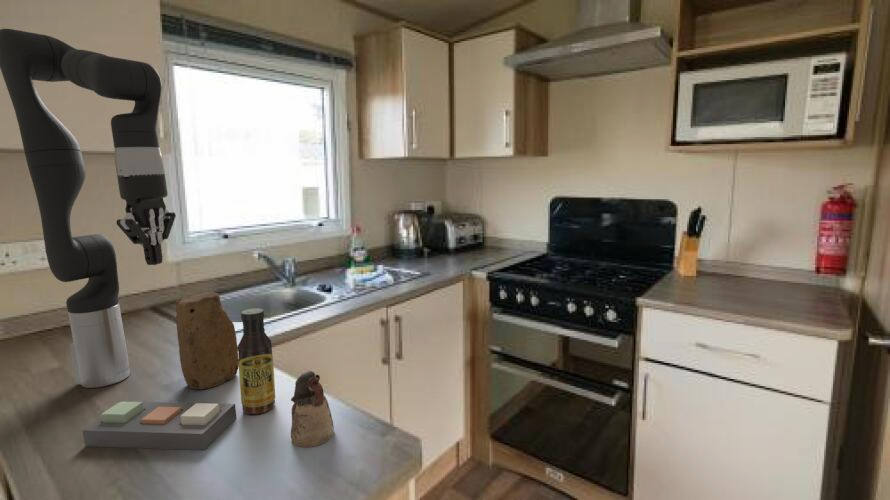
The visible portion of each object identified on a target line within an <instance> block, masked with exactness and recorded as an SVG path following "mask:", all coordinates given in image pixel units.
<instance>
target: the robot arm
mask: <svg viewBox="0 0 890 500" xmlns="http://www.w3.org/2000/svg"><path fill="white" fill-rule="evenodd" d="M0 71H1V74H2V77H3V80H4V83H5V86H6V90H7V92H8V95H9V97H10V100H11V104H12V106H13V109H14V112H15V117H16V121H17V125H18V128H19V133H20V137H21V141H22V142H21V143H22V146H23V152H24V158H25V160H26V165H27V168H28V171H29V174H30V178H31V182H32V185H33V188H34V193H35V196H36V201H37V204H38V209H39V215H40V222H41V227H42V233H43V234H42V235H43V241H44V249H45V254H46V255H45V256H46V260H47V262H48V266H49V269H50V271H51V273H52V275H53V276H54V278H56V279H57V280H58V281H60V282H63V283H70V282H75V281H79V280H85V279H88V281H87V282H86V284H85V285H84V286H83V287H82V288H81V289H79V290H78V291H76V292H75V293H73V294H71V295H70V296H69V297H68V298H67V299H66V302H65V305H66V310H67V313H68V314H67V315H68V319H69V320H68V321H69V325H70V330H71V336H72V343H70V345H69V348H70V352H71V360H72V364H73V371H74V374H75V380H76V385H80V386H81V387H83V388H87V389H93V388H101V387H102V388H103V387H107V386H110V385H114V384H117V383H119V382H121V381H123V380H125V379H127V378H128V377H129V376H130V375H131V369H130V364H129V363H130V362H129V355H128V349H127V344H126V339H125V332H124V331H125V330H124V325H123V320H122V313H121V306H120V303H119V293H120V283H119V273H118V263H117V256H116V251H115V248H114V245H113V243H112V241H111V240H110V239H109V237H107V235H106V236H105V235H104V234H99V233H97V234H96V233H95V234H87V235H80V236H73V235H72V228H71V213H72V210H73V207H74V205H75V202H76V200H77V198H78V196H79V194H80V192H81V190H82V187H83V185H84V182H85V179H86V173H87V171H86V166H85V163H84V159H83V154H82V150H81V146H80V143H79V142H78V140H77V138H76V137H75V135H73V134H72V132H71V131H69V129H68V128H67V127H66V126H65V125H64V124H63V123H62V122H61V121H60V120H59V119H58V118H57V117H56V116H55V115H54V114H53V112H51V110H49V109H48V107H47V106H46V105H45V103H44V102H43V101H42V99H41V97H40V95H39V93H38V91H37V89H36V87H35V84H34V81H40V82H46V83H47V82H49V83H54V82H57V83H58V82H70V83H72V84H74V85H75V86H78V87H80V88H81V89H85V90H89V91H92V92H94V93H95V94H96V95H98V96H100V97H103V98H106V99H112V100H120V101H121V100H122V101H131V102H134V107H133V109H132V111H131V112H126V113H119V114H116V115H114V116H112V117H111V119H110V129H111V134H112V142H113V147H114V165H115V170H116V171H115V172H116V177H117V184H118V190H119V195H120V198H121V199H122V200H124V201H125V202H126V203H125V205H126V206H125V209H124V210H125V215H124V216H123V218H119V219H117V220H116V225H117V227H118V228H119V229H120V230H121V231H122V232H123V233H124V235H126V238H128V239H129V240H130V241H131V243H132V244H134V245H141V246H142V248H143V252H144V253H143V254H144V260H145V263H146V265H148V266H157V265H159V264H162V263H163V252H162V243H163V241H164V240H168V238H169V236H170V234H171V230H172V228H173V225H174V222H175V220H176V216H177V215H176V213H175V212H174V211H171V212H170V211H169V210H168V209H167V206H166V203H165V201H164V199H165V198H167V197H168V195H169V194H168V188H167V179H166V173H165V167H164V159H163V156H162V155H163V154H162V152H161V148H160V141H159V132H158V120H159V119H158V117H159V112H160V106H161V105H160V103H161V98H162V94H163V93H162V92H163V82H162V79H161V76H160V74H159V72H158V71H157V69H156V67H154V66H153V65H152V64H150V63H148V62H143V61H137V60H134V59H133V60H131V59H126V58H120V57H115V56H114V57H113V56H109V55H107V54H103V53H99V52H95V51H92V50H85V49H77V48H75V47H73V46H71V45H69V44H68V43H66V42H64V41H62V40H60V39H58V38H55V37H54V36H50V35H47V34H42V33H41V34H40V33H37V32H36V33H35V32H29V31H25V30H18V29H12V28H1V29H0Z"/></svg>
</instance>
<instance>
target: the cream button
mask: <svg viewBox="0 0 890 500" xmlns="http://www.w3.org/2000/svg"><path fill="white" fill-rule="evenodd" d="M195 403H196V404H195V405H193V406H192V407H191V408H190V409H188V410H187V411H186V412H185V413H183V414H182V415H181V416H180V417H181V424H182V425H207V424H208V423H209V422H210V421H211V420H212V419H213V418H215V417H216V416H217V415H218V414H219V413H220V409H219V404H210V403H211V402H195Z"/></svg>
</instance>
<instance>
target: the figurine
mask: <svg viewBox="0 0 890 500" xmlns="http://www.w3.org/2000/svg"><path fill="white" fill-rule="evenodd" d="M320 379H321V376H320V374H318V373H315V372H314V371H312V370H307V371H304V372H303V373H301V374H300V375H299V376H298V378H296V380H295V383H294V384H295V387H294V393H293V396H292V397H291V398H290V401H291V402H293V405H292V406H291V428H290V439H291V442H292V444H293V445H294V446H296V447H300V448H311V447H312V448H313V447H317V446H321V445H323V444H325V443H326V442H328V441H329V440H330V439H331V438H332V437H333V434H334V429H335V425H334V420H333V416H332V413H331V411H332V410H331V409H330V405H329V402H328V399H327V397H326V395H325V394H324V389H323V385H322V384H321V383H320Z"/></svg>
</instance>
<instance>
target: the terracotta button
mask: <svg viewBox="0 0 890 500" xmlns="http://www.w3.org/2000/svg"><path fill="white" fill-rule="evenodd" d="M180 412H182V411H181V407H157V408H156V409H155V410H153V411H152V412H151V413H149V414H148V415H146V416H145V417H144V418H142V419H141V422H142V424H167V423H168V422H169V421H170V420H172V419H173V418H174V417H175V416H177V415H178V414H179V413H180Z"/></svg>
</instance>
